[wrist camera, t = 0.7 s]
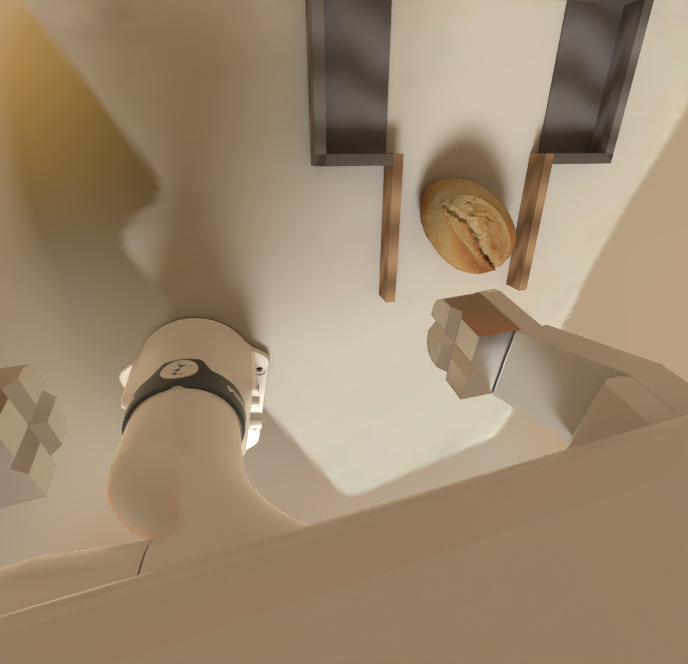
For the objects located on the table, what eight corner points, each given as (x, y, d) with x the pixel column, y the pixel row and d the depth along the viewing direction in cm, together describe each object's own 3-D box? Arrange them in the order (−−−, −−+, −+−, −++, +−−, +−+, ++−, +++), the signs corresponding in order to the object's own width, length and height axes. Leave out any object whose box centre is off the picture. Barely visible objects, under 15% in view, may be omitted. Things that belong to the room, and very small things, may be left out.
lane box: (563, 279, 62) (588, 289, 57) (315, 300, 53) (322, 314, 49) (667, -143, 42) (718, -177, 37) (299, -218, 33) (308, -273, 29)
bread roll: (467, 283, 58) (498, 302, 51) (395, 221, 51) (420, 233, 44) (511, 229, 56) (551, 241, 49) (443, 158, 49) (477, 160, 42)
